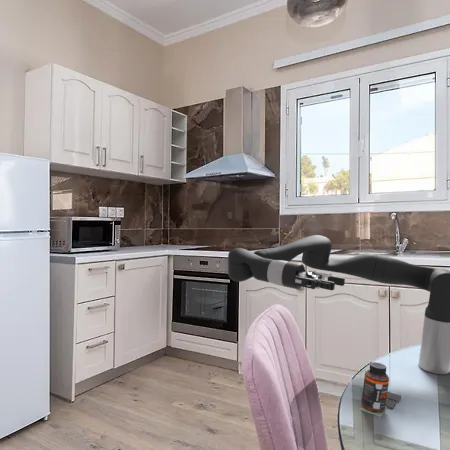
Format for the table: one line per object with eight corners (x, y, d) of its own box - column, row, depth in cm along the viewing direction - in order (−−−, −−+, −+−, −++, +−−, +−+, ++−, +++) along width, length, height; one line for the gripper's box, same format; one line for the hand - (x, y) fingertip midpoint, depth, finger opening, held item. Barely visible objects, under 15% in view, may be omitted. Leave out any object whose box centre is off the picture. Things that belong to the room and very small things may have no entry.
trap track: (375, 388, 119) (375, 387, 119) (401, 397, 115) (401, 395, 115) (360, 410, 106) (360, 408, 106) (389, 420, 102) (389, 418, 102)
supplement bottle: (382, 416, 103) (388, 372, 102) (358, 407, 106) (363, 365, 105) (387, 406, 108) (392, 365, 107) (364, 399, 111) (369, 358, 110)
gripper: (276, 263, 117) (332, 274, 108) (297, 259, 128) (348, 268, 120) (274, 289, 117) (329, 302, 108) (294, 283, 129) (346, 293, 120)
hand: (339, 284), depth 114 cm, fingers open, 8 cm apart
